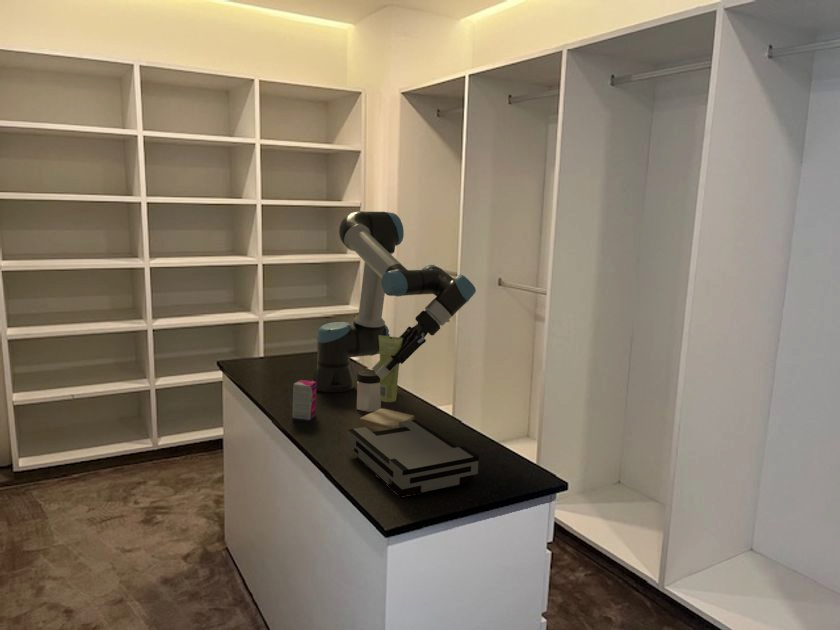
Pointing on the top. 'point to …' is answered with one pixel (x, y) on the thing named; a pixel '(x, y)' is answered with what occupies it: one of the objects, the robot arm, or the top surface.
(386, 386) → the tube
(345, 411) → the top surface
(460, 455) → the game console
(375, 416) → the oak block
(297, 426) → the top surface
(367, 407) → the jar
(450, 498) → the top surface
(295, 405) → the supplement box
